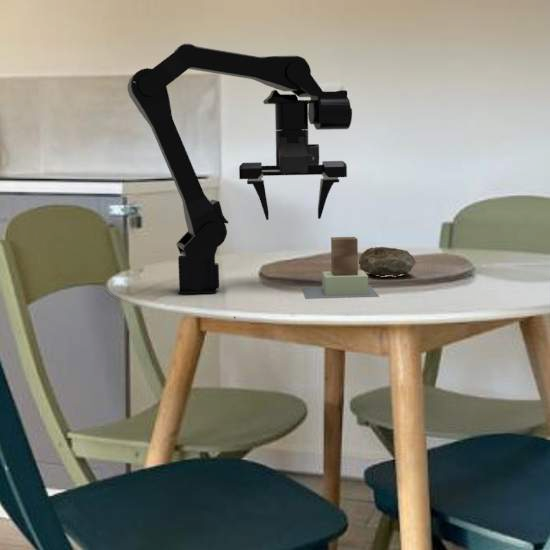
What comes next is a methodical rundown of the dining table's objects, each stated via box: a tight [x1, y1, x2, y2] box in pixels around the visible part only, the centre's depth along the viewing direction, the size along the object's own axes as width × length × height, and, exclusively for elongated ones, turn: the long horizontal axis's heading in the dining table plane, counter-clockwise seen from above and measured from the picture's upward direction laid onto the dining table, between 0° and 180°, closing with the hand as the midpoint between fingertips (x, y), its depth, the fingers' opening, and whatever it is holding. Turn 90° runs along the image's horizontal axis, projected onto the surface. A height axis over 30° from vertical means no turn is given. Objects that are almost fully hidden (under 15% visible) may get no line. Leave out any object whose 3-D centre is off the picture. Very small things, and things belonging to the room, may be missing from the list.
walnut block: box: [330, 236, 359, 276], centre depth 156 cm, size 4×4×6 cm
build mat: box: [300, 284, 380, 300], centre depth 157 cm, size 12×12×1 cm
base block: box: [321, 270, 369, 295], centre depth 157 cm, size 7×7×3 cm
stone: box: [358, 246, 417, 277], centre depth 175 cm, size 13×8×8 cm
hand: (293, 219), depth 166 cm, fingers open, 9 cm apart
